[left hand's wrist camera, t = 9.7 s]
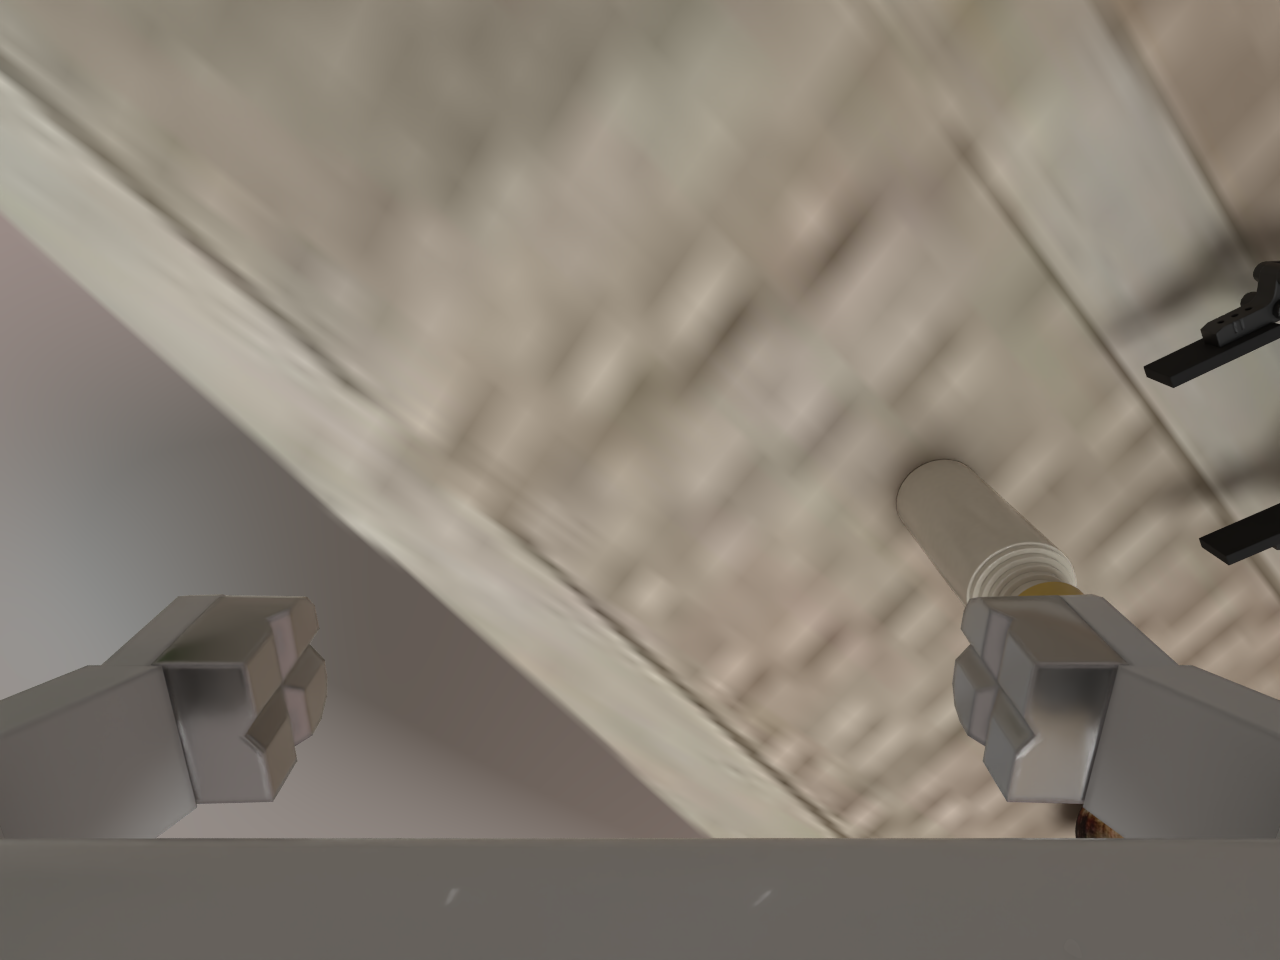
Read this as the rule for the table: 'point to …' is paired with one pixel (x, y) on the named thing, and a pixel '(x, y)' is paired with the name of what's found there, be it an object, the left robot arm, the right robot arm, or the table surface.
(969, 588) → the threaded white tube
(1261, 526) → the right robot arm
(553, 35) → the table surface
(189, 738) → the left robot arm
